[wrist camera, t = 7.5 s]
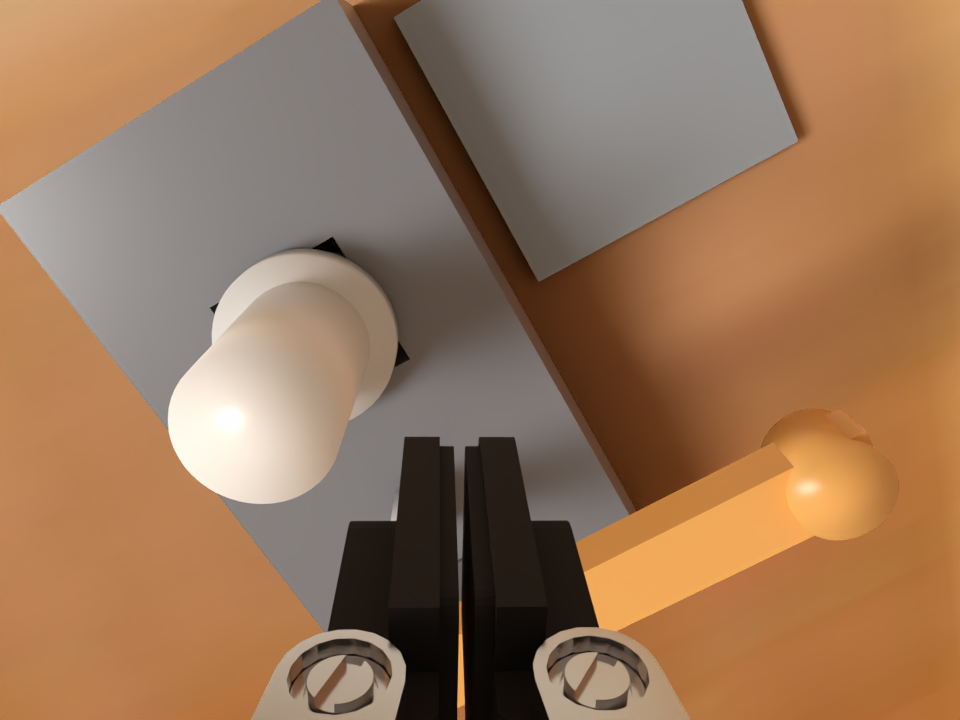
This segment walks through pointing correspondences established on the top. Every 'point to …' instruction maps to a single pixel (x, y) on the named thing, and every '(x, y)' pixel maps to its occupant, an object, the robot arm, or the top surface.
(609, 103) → the mat
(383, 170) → the grey slab
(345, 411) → the knob
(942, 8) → the top surface
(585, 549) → the clip
